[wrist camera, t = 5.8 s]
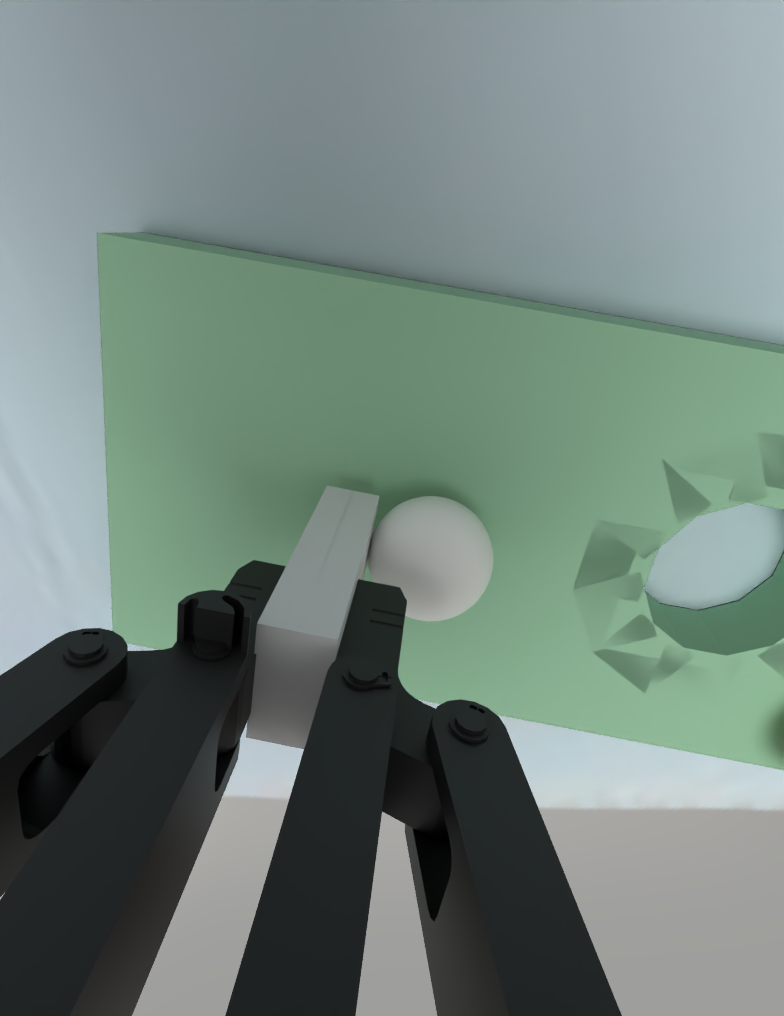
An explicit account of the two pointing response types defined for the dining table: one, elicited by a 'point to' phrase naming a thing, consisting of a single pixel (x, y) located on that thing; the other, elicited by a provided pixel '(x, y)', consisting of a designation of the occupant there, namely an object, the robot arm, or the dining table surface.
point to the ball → (432, 556)
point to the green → (450, 475)
